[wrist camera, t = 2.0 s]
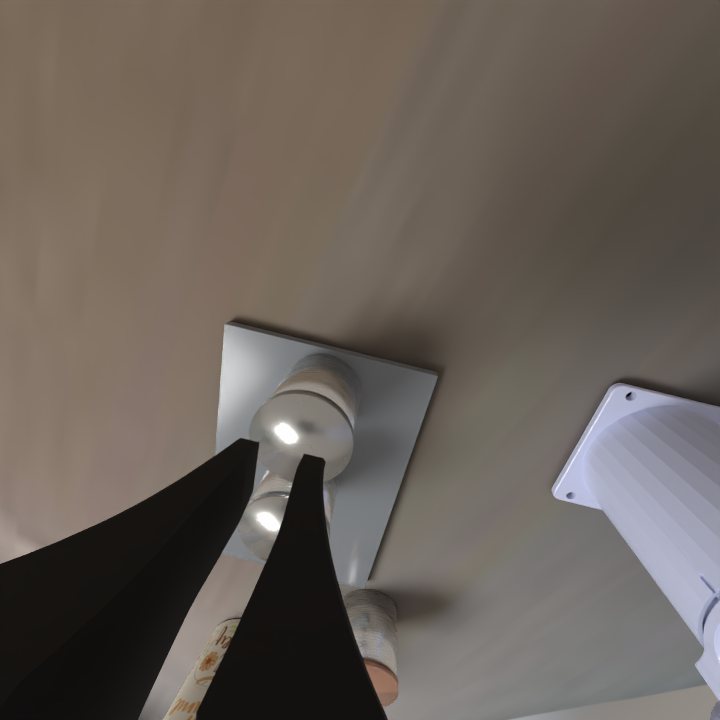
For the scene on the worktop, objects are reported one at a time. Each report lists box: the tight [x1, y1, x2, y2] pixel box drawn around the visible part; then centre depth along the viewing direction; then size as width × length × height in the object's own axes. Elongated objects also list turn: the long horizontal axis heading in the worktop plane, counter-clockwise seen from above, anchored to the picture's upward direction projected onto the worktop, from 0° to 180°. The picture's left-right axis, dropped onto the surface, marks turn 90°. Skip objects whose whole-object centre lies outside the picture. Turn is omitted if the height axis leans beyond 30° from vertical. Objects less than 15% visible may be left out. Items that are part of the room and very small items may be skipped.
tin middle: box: [238, 470, 341, 561], centre depth 19 cm, size 5×5×5 cm
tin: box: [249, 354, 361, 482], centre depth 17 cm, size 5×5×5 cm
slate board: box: [215, 321, 438, 589], centre depth 22 cm, size 12×18×1 cm, turn 167°
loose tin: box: [343, 589, 398, 707], centre depth 25 cm, size 5×5×5 cm
